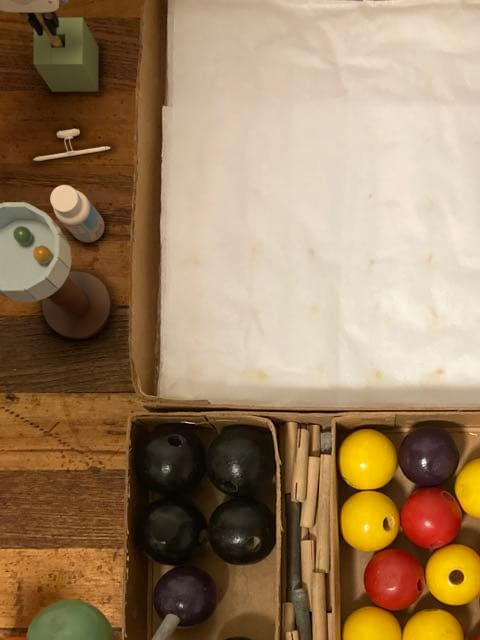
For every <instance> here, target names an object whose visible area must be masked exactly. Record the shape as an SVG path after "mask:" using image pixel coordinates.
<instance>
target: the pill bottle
mask: <svg viewBox="0 0 480 640" xmlns="http://www.w3.org/2000/svg"><path fill="white" fill-rule="evenodd" d="M49 201H50V204H51V206H52V208H53V212H54V215H55V216H56V218H57V219H58V220H59V222H60V223H61V224H62V225H63V226H64V227H65V228H66V229H67V230H68V231H69V232H70V233H71V235H72V236H74V238H75V239H76V240H78V241H80V242H82V243H93V242H95V241H97V240H99V239H100V238H101V237H102V235H103V234H104V231H105V221H104V218H103V217H102V215H101V214H100V213H99V212H98V210H97V209H96V208H95V206H94V205H93V203H92V202H91V201H90V200H89V198H88V197H87V196H86V195H85V194H84V193H83V192H82V191H79V190H77V189H75V188H74V187H72V186H70V185H67V184H61V185H58V186H57V187H55V188H54V189H53V190H52V192H51V194H50V199H49Z"/></svg>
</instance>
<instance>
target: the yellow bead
mask: <svg viewBox="0 0 480 640" xmlns="http://www.w3.org/2000/svg"><path fill="white" fill-rule="evenodd" d="M33 256H34V258H35V260H36V261H37V262H39V263H43V264H44V263H48V262H49V261H50V260H51V257H52V254H51V251H50V250H49V249H48V248H47V247H46V246H42V245H40V246H37V247H36V248H35V249H34V251H33Z"/></svg>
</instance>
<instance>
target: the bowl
mask: <svg viewBox="0 0 480 640" xmlns="http://www.w3.org/2000/svg"><path fill="white" fill-rule="evenodd" d="M19 226H23V227H26V228H28V229H29V230H30V231H31V233H32V240H31V241H30V243H28V244H20V243H18V242H17V241H16V240H15V239H14V236H13V232H14V230H15V229H16V228H17V227H19ZM40 245H42V246H46V247H47V248H48V249H49V250H50V251H51V254H52V257H51V260H50V261H49V262H48V263H44V264H43V263H39V262H37V261H36V260H35V258H34V256H33V251H34V249H35V248H36V247H37V246H40ZM71 268H72V251H71V245H70V243H69V240H68V239H67V237H66V236H65V234H64V233H63V231H62V230H61V227H60V226H59V225H58V224H57V222H55V221H54V220H53V218H52V217H50V216H49V214H48V213H47V212H46V211H43V210H42V209H39V208H37V207H35V206H34V205H32V204H30V203H29V202H26V201H17V202H14V201H13V202H11V201H8V202H7V201H6V202H5V201H3V202H0V295H2V296H4V297H5V298H6V299H9V300H11V301H14V302H19V303H32V302H39V301H42V300H43V299H45V298H47V297H49V296H50V295H52V294H53V293H55V292H56V291H57V290H58V289H59V288H60V287H61V286H62V285H63V283H64V282H65V280H66V278H67V277H68V274H69V272H71Z"/></svg>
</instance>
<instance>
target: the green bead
mask: <svg viewBox="0 0 480 640" xmlns="http://www.w3.org/2000/svg"><path fill="white" fill-rule="evenodd" d="M13 236H14V239H15V240H16V241H17V242H18V243H20V244H28V243H30V241H31V240H32V233H31V231H30V230H29V229H28V228H26V227H23V226H19V227H17V228H16V229H15V230H14V232H13Z"/></svg>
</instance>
